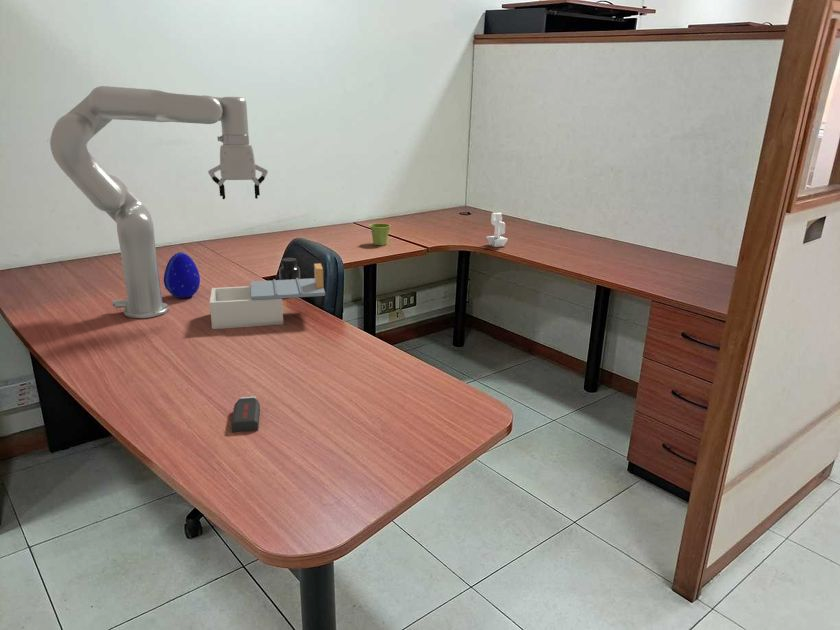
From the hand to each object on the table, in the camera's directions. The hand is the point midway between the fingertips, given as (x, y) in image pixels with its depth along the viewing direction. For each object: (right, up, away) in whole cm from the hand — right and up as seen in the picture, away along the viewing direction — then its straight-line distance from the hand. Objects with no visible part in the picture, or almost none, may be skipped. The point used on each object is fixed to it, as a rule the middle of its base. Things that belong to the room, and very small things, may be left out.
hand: (240, 198), depth 190 cm
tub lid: (+15, -28, -4) cm, 33 cm away
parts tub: (+4, -37, -4) cm, 37 cm away
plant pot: (+37, -4, +89) cm, 97 cm away
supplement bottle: (+11, -29, +20) cm, 37 cm away
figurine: (+90, -4, +92) cm, 129 cm away
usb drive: (+19, -58, -59) cm, 85 cm away
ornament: (-22, -30, +14) cm, 40 cm away
